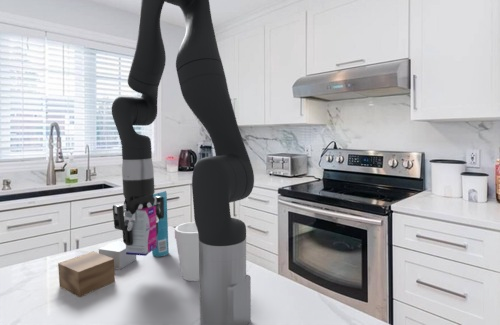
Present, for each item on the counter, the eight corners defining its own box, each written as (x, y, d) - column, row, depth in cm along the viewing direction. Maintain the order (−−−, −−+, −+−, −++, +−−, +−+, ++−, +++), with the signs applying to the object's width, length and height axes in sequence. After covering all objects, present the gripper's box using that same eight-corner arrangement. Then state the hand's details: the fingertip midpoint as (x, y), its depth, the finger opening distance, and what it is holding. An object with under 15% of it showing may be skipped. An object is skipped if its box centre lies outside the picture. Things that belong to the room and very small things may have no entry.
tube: (161, 248, 102) (159, 190, 100) (173, 250, 101) (172, 191, 99) (146, 257, 95) (143, 194, 94) (159, 259, 94) (157, 195, 92)
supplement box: (146, 256, 79) (144, 210, 78) (125, 254, 80) (122, 210, 79) (158, 247, 84) (156, 205, 83) (138, 246, 85) (135, 204, 84)
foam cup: (168, 277, 83) (167, 228, 81) (194, 264, 90) (193, 220, 89) (194, 287, 77) (193, 235, 76) (219, 273, 85) (219, 226, 83)
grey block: (136, 259, 94) (135, 243, 93) (119, 269, 87) (119, 251, 87) (117, 256, 96) (116, 240, 96) (99, 266, 89) (98, 249, 89)
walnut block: (115, 281, 80) (113, 258, 80) (79, 297, 73) (78, 272, 72) (94, 272, 85) (93, 251, 85) (59, 286, 78) (58, 263, 77)
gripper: (122, 181, 72) (126, 251, 74) (170, 174, 84) (172, 235, 86) (103, 179, 76) (107, 246, 78) (151, 173, 88) (154, 231, 90)
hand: (141, 240), depth 82 cm, fingers closed on supplement box, 7 cm apart
